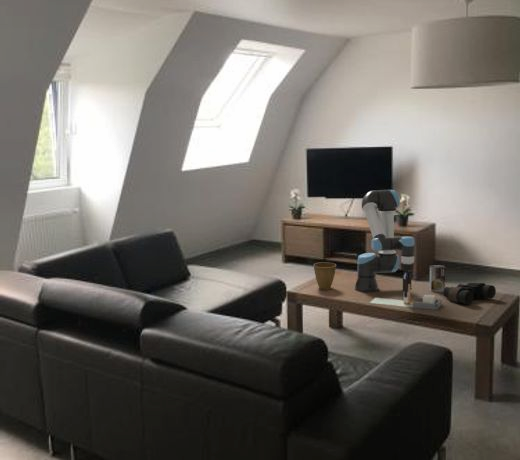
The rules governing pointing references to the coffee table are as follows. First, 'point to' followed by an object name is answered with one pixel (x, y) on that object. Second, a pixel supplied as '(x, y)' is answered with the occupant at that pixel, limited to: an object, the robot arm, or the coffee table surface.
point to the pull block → (426, 298)
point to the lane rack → (414, 304)
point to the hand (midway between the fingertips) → (406, 301)
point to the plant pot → (324, 274)
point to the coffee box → (437, 278)
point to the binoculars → (469, 292)
